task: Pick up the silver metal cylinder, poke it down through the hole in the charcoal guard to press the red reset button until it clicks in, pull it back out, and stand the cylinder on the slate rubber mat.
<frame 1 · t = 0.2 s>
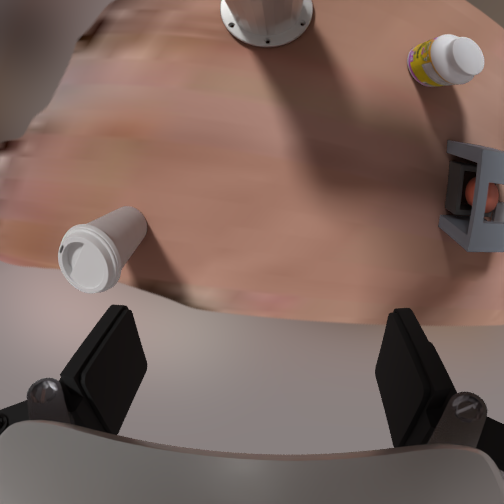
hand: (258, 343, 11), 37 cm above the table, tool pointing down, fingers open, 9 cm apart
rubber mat: (502, 224, 44), on the table
coffee cup: (129, 224, 50), on the table
supplement bottle: (424, 66, 36), on the table
guard: (466, 186, 42), on the table
reset button: (482, 194, 38), point 5 cm above the table, slide at 0.0 cm
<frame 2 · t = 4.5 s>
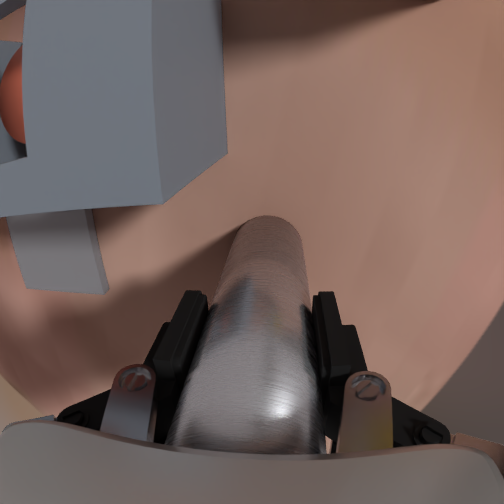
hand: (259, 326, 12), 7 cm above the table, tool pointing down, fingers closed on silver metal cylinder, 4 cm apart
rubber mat: (56, 249, 20), on the table
silver metal cylinder: (267, 248, 19), on the table, touching gripper
guard: (105, 90, 15), on the table
reset button: (53, 88, 11), point 5 cm above the table, slide at 0.0 cm
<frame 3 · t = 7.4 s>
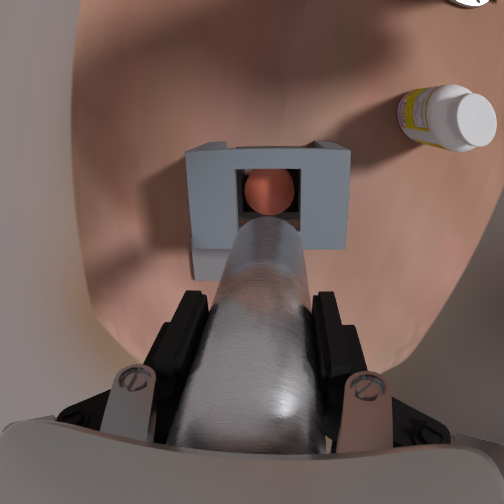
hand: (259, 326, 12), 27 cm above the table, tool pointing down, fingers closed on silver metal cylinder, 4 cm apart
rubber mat: (224, 257, 41), on the table
supplement bottle: (419, 115, 32), on the table
silver metal cylinder: (267, 249, 19), point 20 cm above the table, touching gripper
guard: (271, 178, 37), on the table
reset button: (269, 188, 32), point 5 cm above the table, slide at 0.0 cm
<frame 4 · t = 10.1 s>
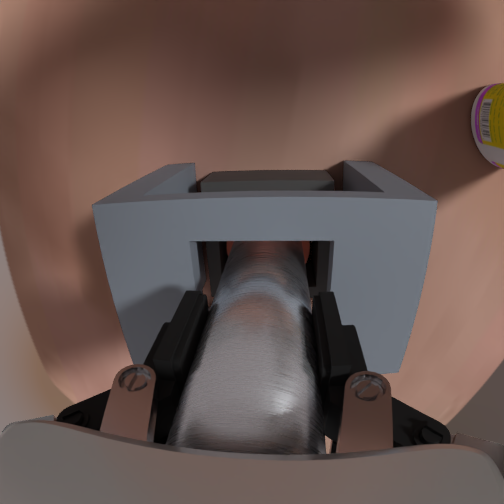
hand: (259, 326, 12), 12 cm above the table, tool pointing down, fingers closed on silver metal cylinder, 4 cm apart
supplement bottle: (497, 124, 18), on the table
silver metal cylinder: (267, 249, 19), point 4 cm above the table, touching gripper, reset button
guard: (270, 224, 22), on the table
reset button: (268, 238, 20), point 3 cm above the table, slide at 2.2 cm, touching silver metal cylinder
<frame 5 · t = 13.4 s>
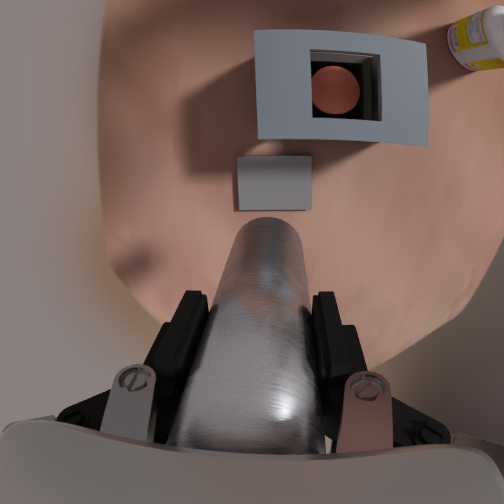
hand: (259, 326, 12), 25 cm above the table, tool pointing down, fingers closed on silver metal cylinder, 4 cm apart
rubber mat: (274, 181, 35), on the table
supplement bottle: (466, 46, 25), on the table
silver metal cylinder: (267, 250, 19), point 18 cm above the table, touching gripper
guard: (328, 92, 30), on the table
reset button: (332, 90, 28), point 3 cm above the table, slide at 2.2 cm
when the fingers open (9 cm above the table, at t = 16.5 s): silver metal cylinder stays where it is, resting on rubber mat.
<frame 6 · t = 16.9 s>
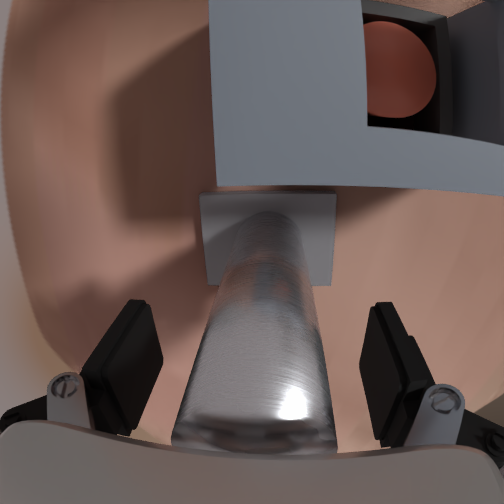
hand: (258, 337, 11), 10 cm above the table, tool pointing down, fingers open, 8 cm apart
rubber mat: (268, 237, 20), on the table
silver metal cylinder: (268, 243, 19), point 1 cm above the table, touching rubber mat
guard: (367, 77, 16), on the table
reset button: (381, 71, 13), point 3 cm above the table, slide at 2.2 cm
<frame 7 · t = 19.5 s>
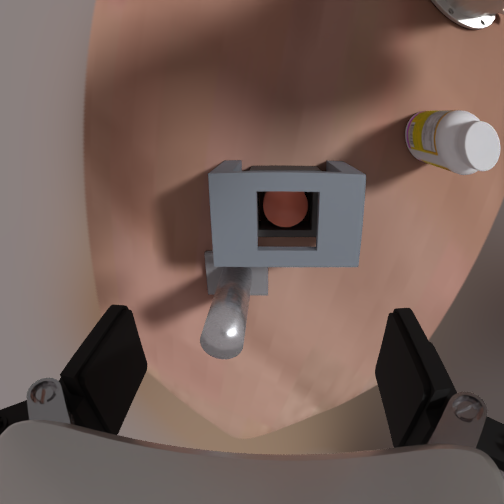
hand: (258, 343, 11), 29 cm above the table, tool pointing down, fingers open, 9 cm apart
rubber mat: (237, 272, 42), on the table
supplement bottle: (425, 136, 34), on the table
silver metal cylinder: (237, 275, 42), point 1 cm above the table, touching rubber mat
guard: (284, 196, 38), on the table
reset button: (285, 202, 36), point 3 cm above the table, slide at 2.2 cm
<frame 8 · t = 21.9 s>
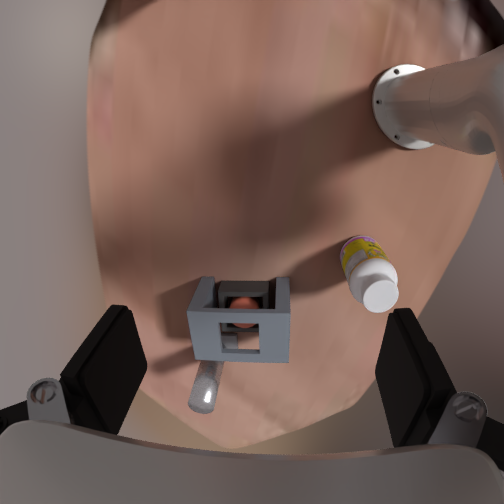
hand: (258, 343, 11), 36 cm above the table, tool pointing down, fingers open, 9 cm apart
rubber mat: (216, 345, 58), on the table
supplement bottle: (359, 253, 48), on the table
silver metal cylinder: (215, 348, 57), point 1 cm above the table, touching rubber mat
guard: (246, 300, 53), on the table
reset button: (244, 310, 51), point 3 cm above the table, slide at 2.2 cm
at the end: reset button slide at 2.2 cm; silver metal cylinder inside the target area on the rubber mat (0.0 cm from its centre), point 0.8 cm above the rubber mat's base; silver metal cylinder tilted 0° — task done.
